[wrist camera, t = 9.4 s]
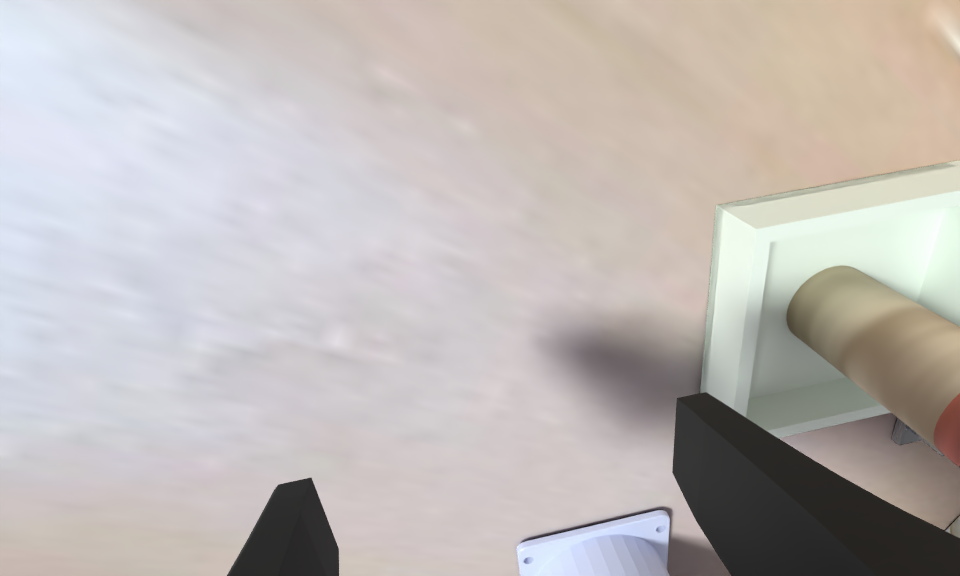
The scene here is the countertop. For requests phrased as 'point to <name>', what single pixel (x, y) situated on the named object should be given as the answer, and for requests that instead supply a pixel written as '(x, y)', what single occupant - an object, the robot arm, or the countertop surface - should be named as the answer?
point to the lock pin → (885, 349)
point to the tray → (801, 254)
